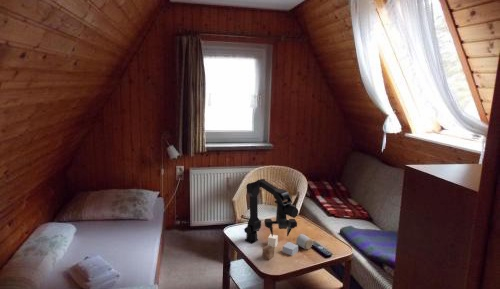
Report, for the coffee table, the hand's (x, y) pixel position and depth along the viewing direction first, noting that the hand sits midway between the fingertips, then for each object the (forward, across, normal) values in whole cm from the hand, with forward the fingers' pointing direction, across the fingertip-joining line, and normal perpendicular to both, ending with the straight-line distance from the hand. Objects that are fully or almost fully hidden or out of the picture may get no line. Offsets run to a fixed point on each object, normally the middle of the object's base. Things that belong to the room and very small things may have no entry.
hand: (279, 236), depth 199 cm
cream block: (+13, -1, +13) cm, 19 cm away
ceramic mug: (+13, +19, +10) cm, 26 cm away
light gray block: (+13, +8, +4) cm, 16 cm away
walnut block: (+13, -6, -1) cm, 15 cm away
